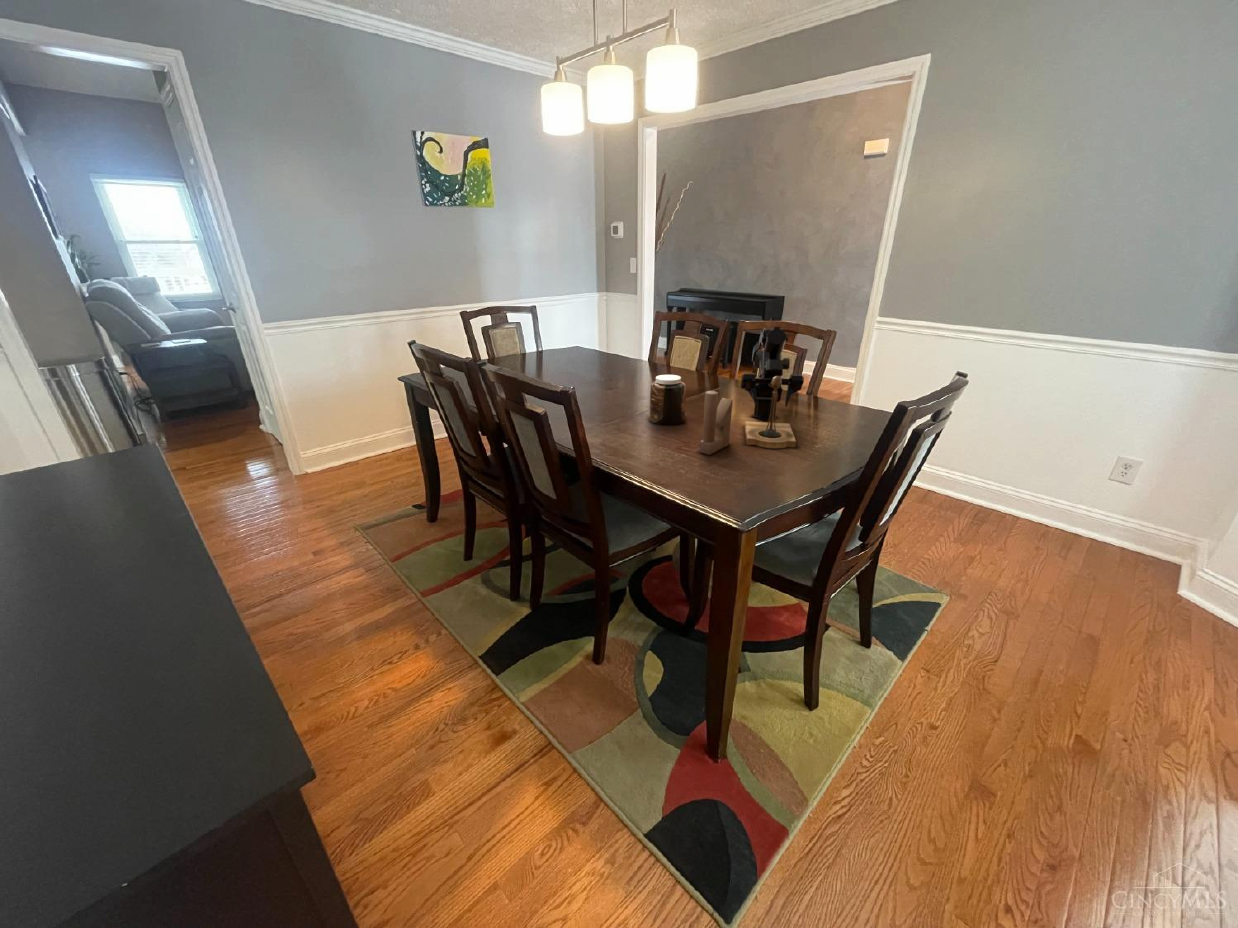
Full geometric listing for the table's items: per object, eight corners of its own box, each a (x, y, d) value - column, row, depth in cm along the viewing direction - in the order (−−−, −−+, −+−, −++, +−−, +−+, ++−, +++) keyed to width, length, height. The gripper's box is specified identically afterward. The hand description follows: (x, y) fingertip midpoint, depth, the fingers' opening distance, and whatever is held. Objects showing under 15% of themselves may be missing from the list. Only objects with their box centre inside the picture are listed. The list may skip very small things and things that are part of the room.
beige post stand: (729, 445, 148) (734, 387, 141) (709, 455, 141) (713, 394, 134) (718, 442, 150) (722, 384, 143) (698, 452, 143) (702, 392, 136)
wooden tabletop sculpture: (770, 444, 148) (778, 379, 140) (756, 440, 152) (763, 376, 143) (780, 439, 152) (788, 375, 144) (767, 435, 155) (774, 373, 147)
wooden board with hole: (744, 427, 163) (745, 421, 162) (788, 429, 160) (789, 423, 159) (747, 446, 147) (747, 440, 146) (795, 449, 144) (796, 443, 144)
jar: (666, 427, 163) (667, 383, 157) (643, 419, 171) (643, 377, 165) (691, 420, 170) (693, 377, 163) (667, 412, 178) (668, 371, 172)
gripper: (744, 347, 153) (742, 391, 148) (807, 349, 150) (807, 394, 144) (741, 366, 163) (739, 408, 158) (800, 368, 160) (800, 411, 155)
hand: (771, 405), depth 153 cm, fingers open, 9 cm apart
